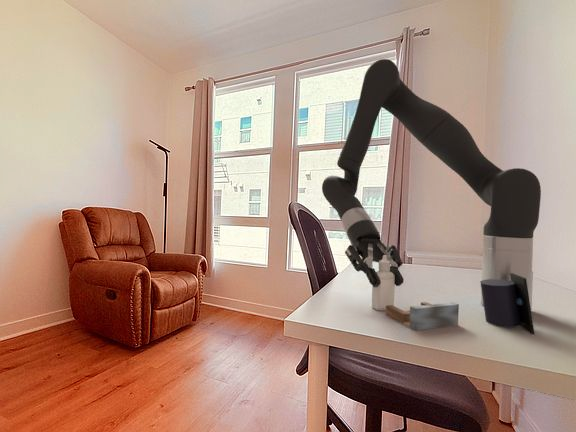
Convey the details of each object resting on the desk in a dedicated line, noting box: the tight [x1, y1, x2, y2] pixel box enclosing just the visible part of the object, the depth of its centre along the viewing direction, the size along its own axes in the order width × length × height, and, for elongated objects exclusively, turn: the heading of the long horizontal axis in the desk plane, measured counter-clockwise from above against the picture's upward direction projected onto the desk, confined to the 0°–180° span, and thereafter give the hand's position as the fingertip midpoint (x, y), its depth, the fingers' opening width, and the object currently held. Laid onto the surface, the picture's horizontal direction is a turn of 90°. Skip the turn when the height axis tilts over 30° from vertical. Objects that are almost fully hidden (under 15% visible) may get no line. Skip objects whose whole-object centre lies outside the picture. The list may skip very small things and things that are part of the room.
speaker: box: [479, 273, 535, 336], centre depth 53 cm, size 8×6×10 cm
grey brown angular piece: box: [385, 301, 460, 331], centre depth 53 cm, size 11×8×4 cm
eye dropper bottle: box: [371, 255, 396, 312], centre depth 60 cm, size 4×6×12 cm
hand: (389, 284), depth 58 cm, fingers closed on eye dropper bottle, 5 cm apart
